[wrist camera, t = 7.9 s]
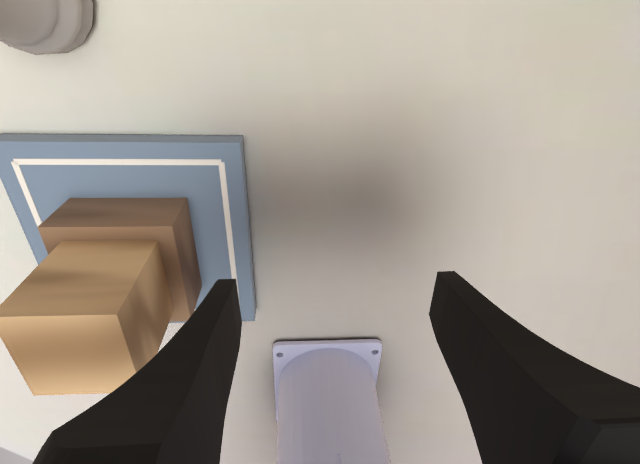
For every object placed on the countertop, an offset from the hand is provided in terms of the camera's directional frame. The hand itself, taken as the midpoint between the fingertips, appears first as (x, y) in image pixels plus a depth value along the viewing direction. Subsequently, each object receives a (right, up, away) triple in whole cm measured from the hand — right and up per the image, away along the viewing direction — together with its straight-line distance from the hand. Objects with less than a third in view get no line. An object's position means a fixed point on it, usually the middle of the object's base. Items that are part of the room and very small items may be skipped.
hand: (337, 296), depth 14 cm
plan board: (-11, +2, +9) cm, 14 cm away
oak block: (-11, 0, +5) cm, 12 cm away
